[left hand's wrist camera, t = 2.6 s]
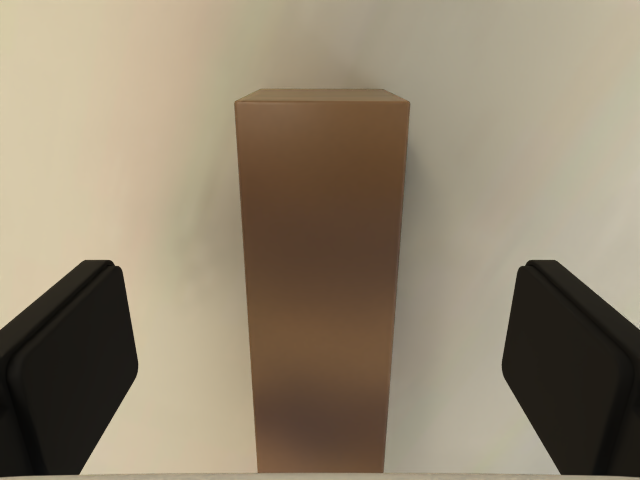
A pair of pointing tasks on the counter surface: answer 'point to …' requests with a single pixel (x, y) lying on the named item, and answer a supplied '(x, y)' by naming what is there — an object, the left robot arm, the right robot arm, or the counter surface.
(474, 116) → the counter surface
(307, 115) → the post
